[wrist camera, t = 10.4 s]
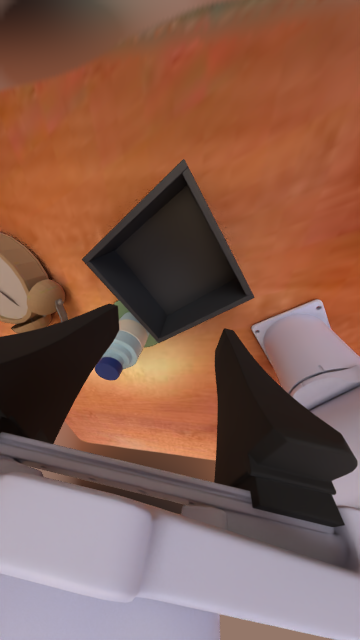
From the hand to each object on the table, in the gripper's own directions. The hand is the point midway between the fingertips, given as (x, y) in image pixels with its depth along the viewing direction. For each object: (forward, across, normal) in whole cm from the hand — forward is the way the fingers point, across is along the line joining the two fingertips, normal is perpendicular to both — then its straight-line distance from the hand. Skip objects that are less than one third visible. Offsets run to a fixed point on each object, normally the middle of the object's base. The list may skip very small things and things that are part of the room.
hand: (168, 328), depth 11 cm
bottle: (+10, +6, +8) cm, 14 cm away
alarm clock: (+10, +22, +6) cm, 25 cm away
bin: (+10, +1, -2) cm, 11 cm away
